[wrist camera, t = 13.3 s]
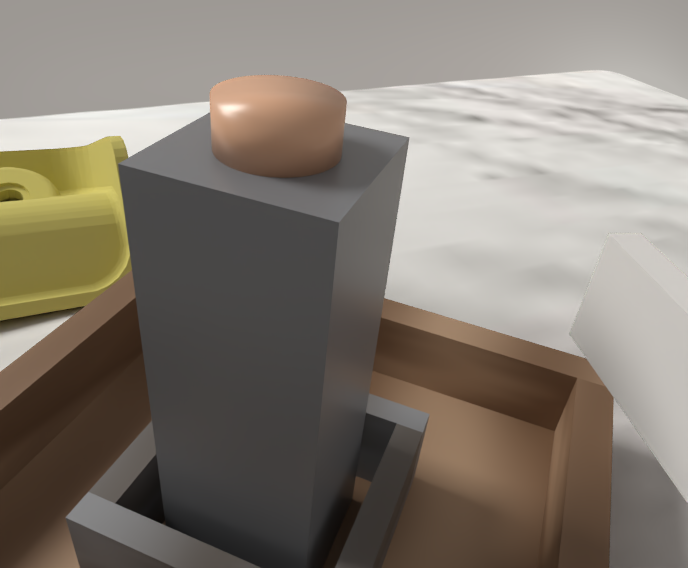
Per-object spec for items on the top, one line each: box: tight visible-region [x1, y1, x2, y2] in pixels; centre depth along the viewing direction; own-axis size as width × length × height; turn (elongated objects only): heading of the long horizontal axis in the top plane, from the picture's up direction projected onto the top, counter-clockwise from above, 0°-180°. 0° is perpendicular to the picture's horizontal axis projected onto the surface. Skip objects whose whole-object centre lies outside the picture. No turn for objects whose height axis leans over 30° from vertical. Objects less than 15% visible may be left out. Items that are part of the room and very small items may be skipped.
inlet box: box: [0, 270, 614, 568], centre depth 18 cm, size 18×18×4 cm
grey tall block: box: [118, 75, 409, 568], centre depth 14 cm, size 4×4×13 cm
